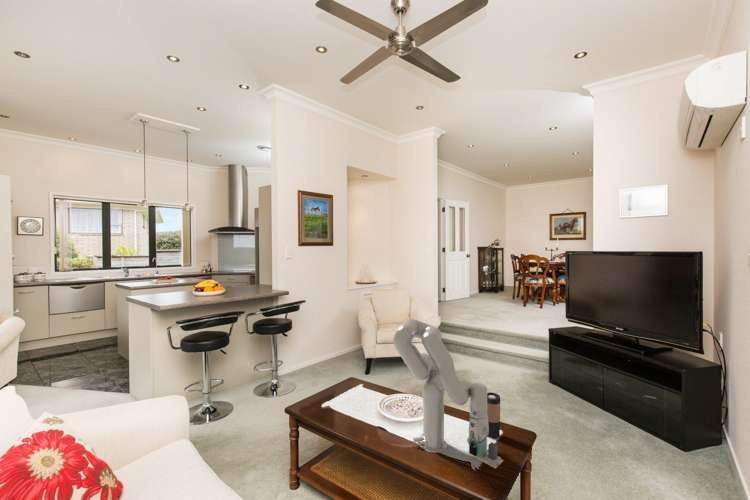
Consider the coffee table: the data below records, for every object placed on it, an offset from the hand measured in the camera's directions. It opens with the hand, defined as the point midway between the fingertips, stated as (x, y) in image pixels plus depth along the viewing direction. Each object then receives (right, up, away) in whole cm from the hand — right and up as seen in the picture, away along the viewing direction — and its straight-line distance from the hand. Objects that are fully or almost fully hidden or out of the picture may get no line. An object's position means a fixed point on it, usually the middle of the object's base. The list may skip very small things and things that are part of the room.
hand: (478, 450), depth 152 cm
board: (+2, -2, -2) cm, 4 cm away
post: (+5, -1, -5) cm, 7 cm away
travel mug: (+11, -2, +15) cm, 18 cm away
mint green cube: (0, -1, 0) cm, 1 cm away
